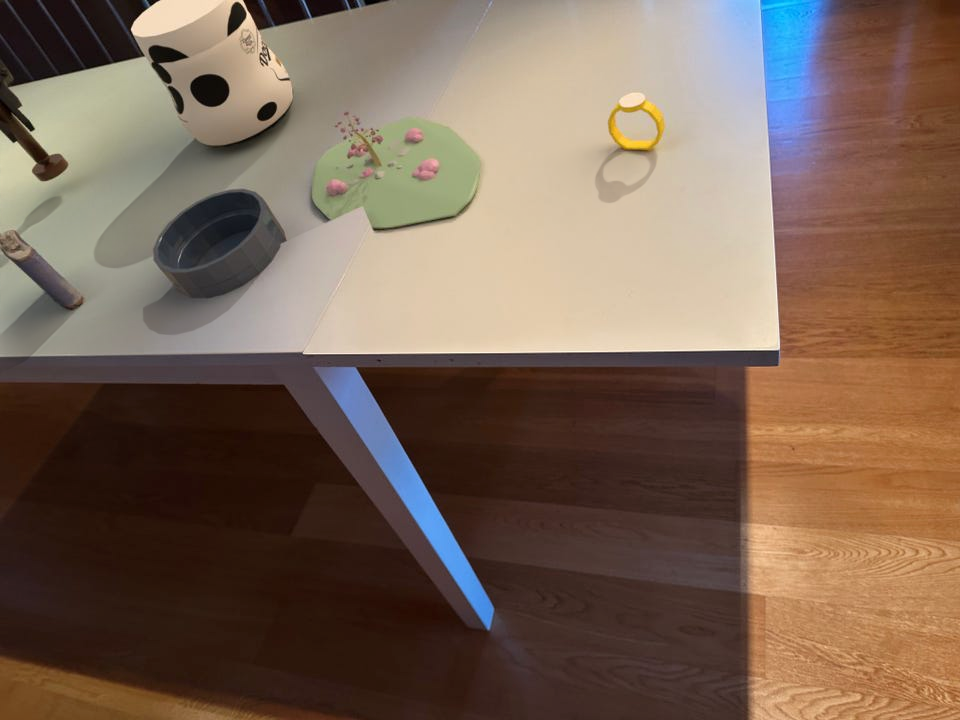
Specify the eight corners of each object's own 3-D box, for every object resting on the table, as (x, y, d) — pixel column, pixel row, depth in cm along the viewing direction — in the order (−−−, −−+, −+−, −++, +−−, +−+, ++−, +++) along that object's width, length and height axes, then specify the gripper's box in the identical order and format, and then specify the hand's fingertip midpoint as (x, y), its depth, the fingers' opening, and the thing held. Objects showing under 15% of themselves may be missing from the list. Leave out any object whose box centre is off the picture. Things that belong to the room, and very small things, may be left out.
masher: (37, 185, 103) (-76, 65, 88) (40, 170, 106) (-68, 51, 91) (67, 172, 103) (-41, 49, 88) (69, 157, 106) (-34, 36, 91)
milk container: (322, 92, 104) (264, -29, 90) (256, 162, 96) (181, 41, 82) (245, 89, 112) (181, -22, 98) (178, 154, 104) (98, 42, 90)
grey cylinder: (88, 300, 85) (22, 237, 77) (68, 315, 84) (0, 254, 76) (62, 276, 91) (-2, 215, 83) (44, 290, 90) (-23, 230, 82)
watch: (668, 141, 74) (665, 92, 70) (660, 157, 73) (656, 108, 68) (617, 137, 77) (611, 90, 72) (608, 152, 76) (602, 105, 71)
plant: (525, 134, 82) (508, 66, 75) (436, 248, 73) (408, 182, 67) (374, 118, 95) (348, 57, 88) (282, 213, 86) (245, 154, 79)
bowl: (186, 326, 77) (154, 291, 72) (181, 257, 86) (152, 221, 81) (298, 275, 77) (272, 236, 72) (280, 211, 86) (257, 173, 82)
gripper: (-45, -7, 99) (73, 115, 102) (-144, 47, 94) (-17, 173, 97) (-68, -42, 92) (60, 89, 95) (-177, 14, 87) (-38, 151, 90)
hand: (21, 131), depth 96 cm, fingers closed on masher, 2 cm apart
